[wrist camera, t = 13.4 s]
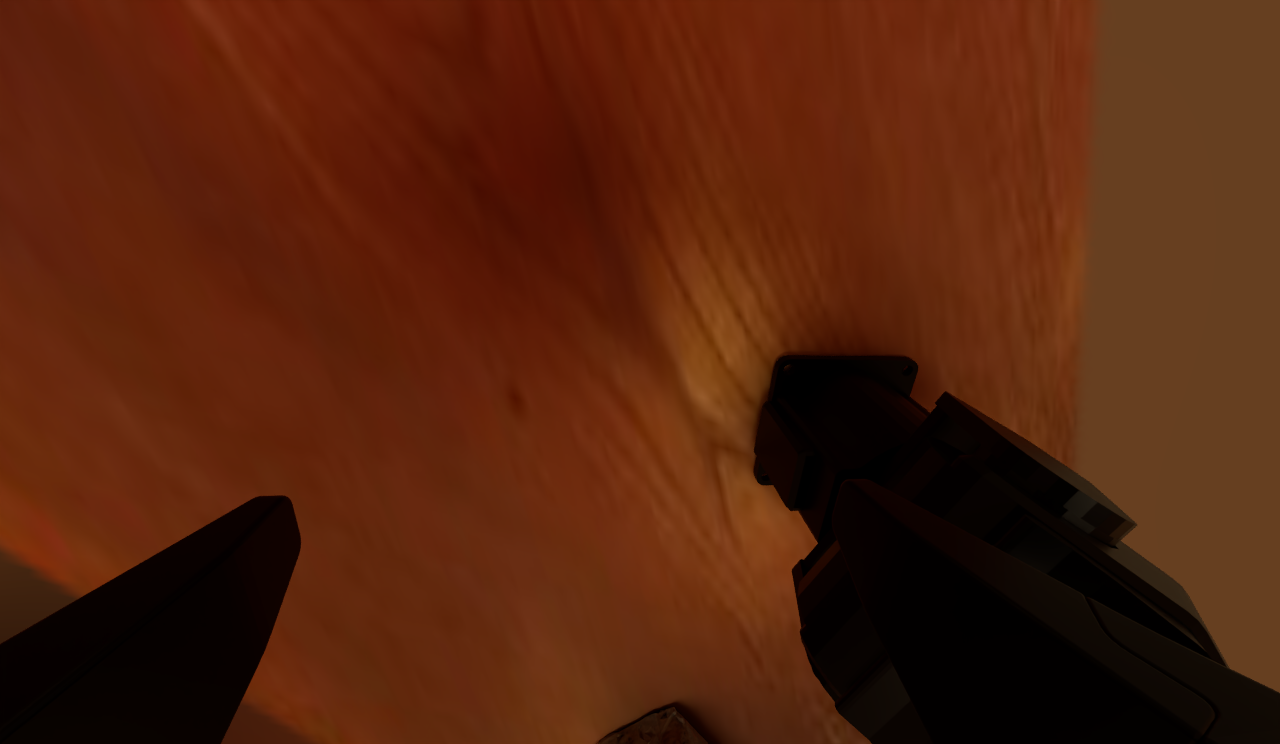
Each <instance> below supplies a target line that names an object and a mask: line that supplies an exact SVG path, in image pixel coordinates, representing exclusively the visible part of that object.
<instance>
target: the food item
mask: <svg viewBox="0 0 1280 744" xmlns="http://www.w3.org/2000/svg"><path fill="white" fill-rule="evenodd" d="M659 712H660V713H654V714H651V715H649V716H646V717H645V718H643V719H642V720H640V721H639V722H637V723H635V724H633V725H631V726H629V727H627V728H625V729H623V730H621V731H620V732H614V733H611V734H609V735H608V736H606V737H604V738H603V739H602V740H601V741H600V742H599V743H598V744H709V743H708V742H707V741H706V740H705V739H704V738H703V737H702V736H701V735H700V734H699V733H698V732H697V731H696V730H695V729H694V728H693V727H692V726H691V725H690V724H689V723H688V722H687V720H686V719H685V718H684V717H683V716H682V715H681V714H680V713H678V712H677V711H676V709H675V707H671V708H668V709H666V710H659Z"/></svg>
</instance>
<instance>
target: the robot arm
mask: <svg viewBox="0 0 1280 744" xmlns="http://www.w3.org/2000/svg"><path fill="white" fill-rule="evenodd" d="M790 364H791V368H790V369H789V370H788V371H783V370H784V368H785V366H787V365H790ZM906 366H908V367H907V369H906V370H905V371H903V372H902V370H903V368H904V367H906ZM917 372H918V365H917V363H916V362H915V361H913V360H912V359H910V358H909V357H891V356H808V355H786V356H783V357H781V358H779V359H778V360H777V361H776V364H775V366H774V371H773V376H772V382H771V387H770V392H769V397H768V401H766V402H765V403H764V405H763V406H762V411H761V416H760V421H759V426H758V432H757V437H756V442H755V447H754V453H755V455H756V456H757V457H756V462H755V468H754V476H755V478H756V480H757V482H758V483H759V484H761V485H774V487H775V489H776V491H777V492H778V494H779V496H780V497H781V499H782V501H783V503H784V504H785V506H786V507H787V508H788V509H789V510H790V511H799V513H800V515H801V516H802V518H803V519H804V521H805V523H806V524H807V526H808V528H809V529H810V531H811V533H812V534H813V536H814V538H815V539H816V541H817V542H818V544H817V545H816V546H815V548H814V549H813V550H812V551H811V552H810V553H809V555H808V556H807V557H806V558H805V559H804V560H803V559H801V560H800V561H799V562H798V563H797V564H796V565H795V566H794V567H793V569H792V575H793V581H794V587H795V593H796V598H797V604H798V610H799V616H800V622H801V629H800V635H801V640H802V643H803V645H804V647H805V650H806V653H807V657H808V660H809V662H810V664H811V667H812V670H813V673H814V674H815V676H816V677H817V678H818V679H819V681H820V683H821V684H822V686H823V687H824V689H825V690H826V691H827V692H828V694H829V695H830V696H831V697H832V699H833V700H834V701H835V707H836V710H837V711H838V712H839V714H840V715H841V716H843V717H844V718H845V719H846V720H847V721H848V722H849V723H850V724H852V725H853V726H854V727H855V728H856V729H857V730H858V731H859V732H861V733H862V734H863V735H864V736H865V737H866V738H867V739H868V740H869V741H870V742H871V743H872V744H1280V693H1279V692H1277V691H1275V690H1273V689H1271V688H1268V687H1267V686H1265V685H1262V684H1260V683H1258V682H1256V681H1254V680H1252V679H1250V678H1248V677H1246V676H1244V675H1242V674H1240V673H1238V672H1235V671H1233V670H1231V669H1230V668H1229V666H1228V665H1227V663H1226V661H1225V659H1224V657H1223V656H1222V654H1221V652H1220V650H1219V649H1218V647H1217V645H1216V643H1215V642H1214V640H1213V638H1212V636H1211V634H1210V633H1209V631H1208V629H1207V627H1206V626H1205V624H1204V622H1203V620H1202V618H1201V617H1200V615H1199V613H1198V611H1197V610H1196V608H1195V606H1194V604H1193V602H1192V601H1191V599H1190V597H1189V595H1188V594H1187V593H1186V591H1185V590H1184V589H1183V587H1182V586H1181V585H1180V584H1179V583H1177V582H1176V581H1175V580H1174V579H1173V578H1171V577H1170V576H1169V575H1167V574H1166V573H1164V572H1163V571H1161V570H1160V569H1159V568H1158V567H1156V566H1155V565H1153V564H1152V563H1150V562H1149V561H1148V560H1146V559H1145V558H1144V557H1142V556H1141V555H1140V554H1138V553H1136V552H1135V551H1134V550H1133V549H1131V548H1130V547H1128V546H1127V545H1126V544H1124V543H1123V542H1121V541H1120V540H1121V539H1123V538H1124V537H1125V536H1126V535H1127V534H1128V533H1129V532H1130V531H1131V530H1133V529H1134V528H1135V527H1136V526H1137V524H1136V523H1135V522H1134V521H1133V520H1132V519H1131V518H1130V517H1129V516H1128V515H1126V514H1125V513H1124V512H1123V511H1122V510H1121V509H1120V508H1118V507H1117V506H1116V505H1115V504H1114V503H1113V502H1112V501H1110V500H1109V499H1108V498H1107V497H1106V496H1105V495H1104V494H1103V493H1101V492H1100V491H1099V490H1098V489H1097V488H1096V487H1095V486H1094V485H1092V484H1091V483H1090V482H1089V481H1087V480H1086V479H1084V478H1083V477H1081V476H1080V475H1078V474H1077V473H1075V472H1074V471H1073V470H1071V469H1070V468H1068V467H1067V466H1065V465H1064V464H1062V463H1061V462H1059V461H1058V460H1056V459H1055V458H1053V457H1052V456H1050V455H1049V454H1047V453H1046V452H1044V451H1043V450H1041V449H1040V448H1038V447H1037V446H1035V445H1034V444H1032V443H1031V442H1029V441H1028V440H1026V439H1025V438H1023V437H1021V436H1020V435H1018V434H1016V433H1015V432H1013V431H1011V430H1010V429H1008V428H1006V427H1005V426H1003V425H1001V424H1000V423H998V422H996V421H995V420H993V419H991V418H990V417H988V416H986V415H985V414H983V413H981V412H980V411H978V410H976V409H975V408H973V407H971V406H970V405H968V404H966V403H965V402H963V401H961V400H960V399H958V398H956V397H955V396H953V395H951V394H950V393H948V392H946V391H945V392H944V393H943V394H942V395H941V397H940V398H939V399H938V400H937V401H936V402H935V404H936V405H937V406H936V407H935V409H934V410H933V411H932V412H931V413H930V412H928V411H927V410H926V409H925V408H923V407H922V406H921V405H920V404H918V403H917V402H916V401H915V400H913V399H912V398H911V397H910V393H911V390H912V387H913V384H914V381H915V378H916V375H917ZM765 472H766V473H767V475H765V476H762V475H763V474H764V473H765ZM300 548H301V537H300V532H299V528H298V524H297V520H296V516H295V512H294V508H293V504H292V502H291V500H290V499H289V498H288V497H286V496H283V495H281V496H258V497H255V498H253V499H251V500H250V501H248V502H246V503H244V504H243V505H241V506H239V507H237V508H236V509H234V510H232V511H230V512H229V513H227V514H225V515H224V516H222V517H220V518H218V519H217V520H215V521H213V522H211V523H210V524H208V525H206V526H204V527H203V528H201V529H199V530H197V531H196V532H194V533H192V534H190V535H189V536H187V537H185V538H184V539H182V540H180V541H178V542H177V543H175V544H173V545H171V546H170V547H168V548H166V549H164V550H163V551H161V552H159V553H157V554H156V555H154V556H152V557H150V558H149V559H147V560H145V561H144V562H142V563H140V564H138V565H137V566H135V567H133V568H131V569H130V570H128V571H126V572H124V573H123V574H121V575H119V576H117V577H116V578H114V579H112V580H110V581H109V582H107V583H105V584H104V585H102V586H100V587H98V588H97V589H95V590H93V591H91V592H90V593H88V594H86V595H84V596H83V597H81V598H79V599H77V600H76V601H74V602H72V603H70V604H69V605H67V606H65V607H63V608H62V609H60V610H58V611H57V612H55V613H53V614H51V615H50V616H48V617H46V618H44V619H43V620H41V621H39V622H38V623H36V624H34V625H32V626H30V627H29V628H27V629H25V630H23V631H22V632H20V633H19V634H17V635H15V636H13V637H11V638H10V639H8V640H6V641H4V642H3V643H1V644H0V744H221V742H222V740H223V738H224V736H225V734H226V732H227V730H228V728H229V726H230V724H231V721H232V719H233V717H234V715H235V713H236V711H237V709H238V707H239V705H240V703H241V700H242V698H243V696H244V694H245V692H246V690H247V688H248V686H249V684H250V682H251V680H252V677H253V675H254V673H255V671H256V669H257V667H258V665H259V662H260V660H261V658H262V656H263V654H264V651H265V649H266V646H267V644H268V641H269V638H270V636H271V633H272V630H273V627H274V625H275V622H276V619H277V616H278V613H279V610H280V607H281V605H282V602H283V599H284V596H285V593H286V590H287V587H288V585H289V582H290V579H291V576H292V573H293V570H294V567H295V565H296V562H297V559H298V556H299V553H300Z"/></svg>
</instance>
